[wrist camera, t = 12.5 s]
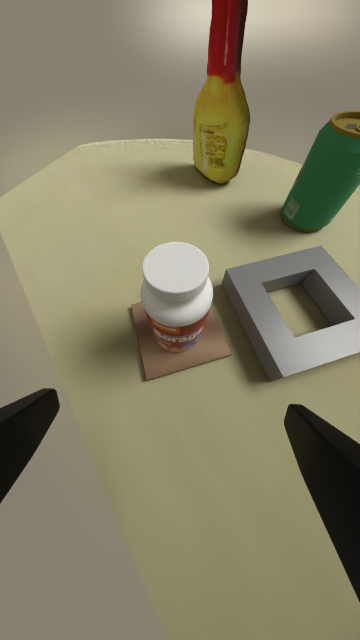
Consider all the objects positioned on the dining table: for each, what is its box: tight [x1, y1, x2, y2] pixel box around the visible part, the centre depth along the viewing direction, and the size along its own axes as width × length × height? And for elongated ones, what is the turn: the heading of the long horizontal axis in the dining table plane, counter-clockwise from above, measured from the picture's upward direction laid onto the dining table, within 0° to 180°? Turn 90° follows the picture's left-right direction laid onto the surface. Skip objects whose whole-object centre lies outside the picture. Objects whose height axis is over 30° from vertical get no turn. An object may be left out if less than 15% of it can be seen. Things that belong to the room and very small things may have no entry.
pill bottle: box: [141, 242, 213, 352], centre depth 18 cm, size 6×6×11 cm
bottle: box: [193, 0, 250, 183], centre depth 30 cm, size 12×6×20 cm, turn 35°
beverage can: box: [282, 111, 360, 232], centre depth 27 cm, size 8×8×12 cm
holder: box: [222, 246, 360, 382], centre depth 23 cm, size 14×14×3 cm
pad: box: [131, 302, 231, 381], centre depth 23 cm, size 10×10×1 cm
